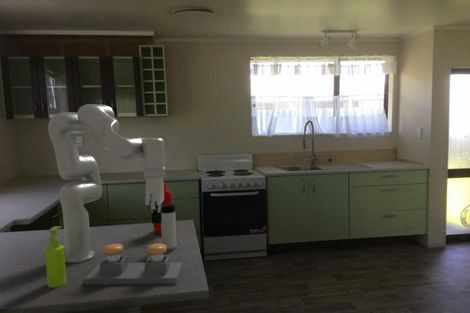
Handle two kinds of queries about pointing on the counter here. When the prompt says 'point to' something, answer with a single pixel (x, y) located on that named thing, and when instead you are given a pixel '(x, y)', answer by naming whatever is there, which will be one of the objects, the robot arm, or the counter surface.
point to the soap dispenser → (55, 261)
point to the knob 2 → (157, 252)
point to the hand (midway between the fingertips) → (157, 222)
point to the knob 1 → (113, 252)
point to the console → (135, 272)
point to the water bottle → (166, 201)
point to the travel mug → (168, 226)
